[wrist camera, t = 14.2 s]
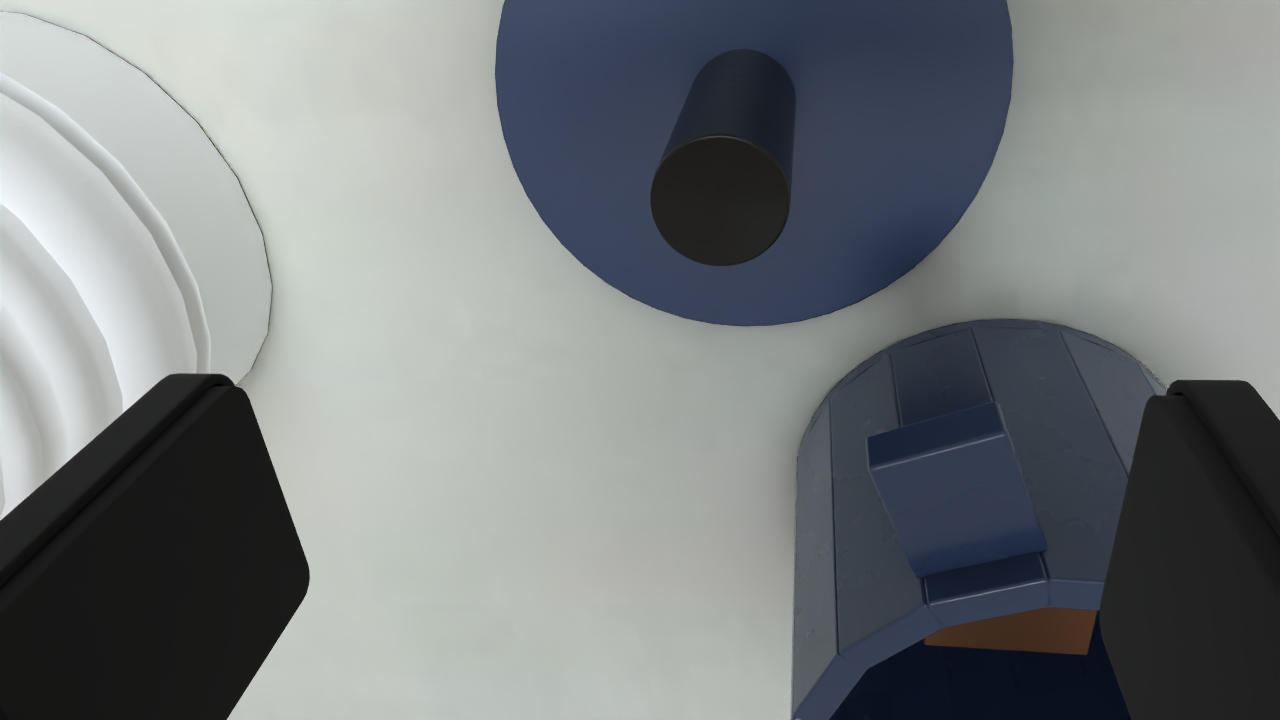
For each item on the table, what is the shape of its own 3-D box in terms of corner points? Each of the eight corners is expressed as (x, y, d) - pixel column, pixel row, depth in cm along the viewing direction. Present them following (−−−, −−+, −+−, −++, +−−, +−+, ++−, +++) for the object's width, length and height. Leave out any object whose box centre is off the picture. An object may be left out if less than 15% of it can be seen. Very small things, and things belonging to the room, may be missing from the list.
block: (1074, 434, 24) (1116, 535, 21) (1052, 547, 26) (1087, 655, 23) (918, 431, 25) (935, 528, 22) (909, 541, 27) (923, 645, 24)
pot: (1120, 163, 21) (1310, 382, 13) (1234, 634, 28) (1408, 973, 20) (702, 309, 25) (651, 549, 17) (890, 694, 31) (918, 1000, 23)
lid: (912, -318, 17) (968, -386, 11) (1061, 216, 22) (1158, 376, 16) (418, -40, 21) (258, 23, 15) (634, 360, 26) (579, 532, 20)
